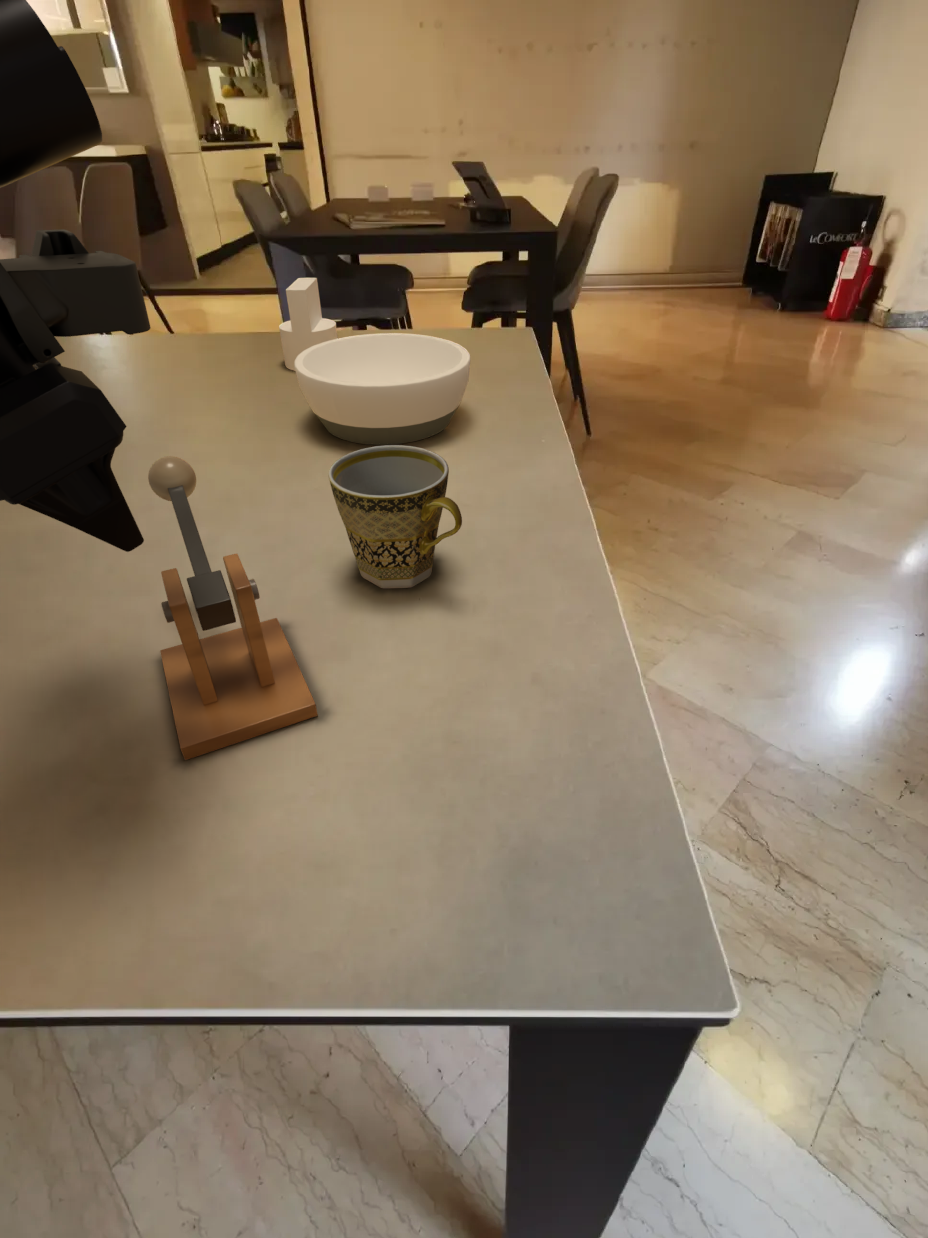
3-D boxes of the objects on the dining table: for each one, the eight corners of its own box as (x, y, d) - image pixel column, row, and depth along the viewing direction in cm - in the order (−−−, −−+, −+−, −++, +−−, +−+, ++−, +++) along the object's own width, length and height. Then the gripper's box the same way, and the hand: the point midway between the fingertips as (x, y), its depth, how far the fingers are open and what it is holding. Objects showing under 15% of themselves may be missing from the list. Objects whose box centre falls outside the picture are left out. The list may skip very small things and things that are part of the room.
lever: (150, 486, 53) (139, 451, 50) (195, 478, 54) (186, 443, 51) (195, 638, 44) (184, 606, 42) (246, 624, 46) (238, 592, 43)
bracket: (164, 661, 52) (123, 554, 46) (279, 628, 55) (255, 524, 49) (185, 760, 44) (139, 647, 38) (318, 715, 47) (295, 604, 41)
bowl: (497, 406, 94) (499, 344, 89) (417, 468, 79) (413, 397, 73) (365, 382, 103) (359, 325, 97) (268, 434, 87) (255, 369, 82)
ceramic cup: (320, 571, 61) (303, 471, 55) (398, 530, 67) (390, 435, 61) (420, 630, 55) (414, 522, 48) (497, 578, 60) (501, 476, 54)
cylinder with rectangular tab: (335, 371, 107) (325, 290, 99) (279, 371, 107) (265, 290, 100) (344, 355, 114) (335, 277, 107) (292, 355, 114) (280, 277, 107)
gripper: (115, 173, 25) (294, 498, 36) (21, 155, 37) (177, 404, 48) (-190, 312, 22) (109, 620, 33) (-186, 244, 34) (33, 488, 45)
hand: (112, 515), depth 40 cm, fingers open, 9 cm apart
